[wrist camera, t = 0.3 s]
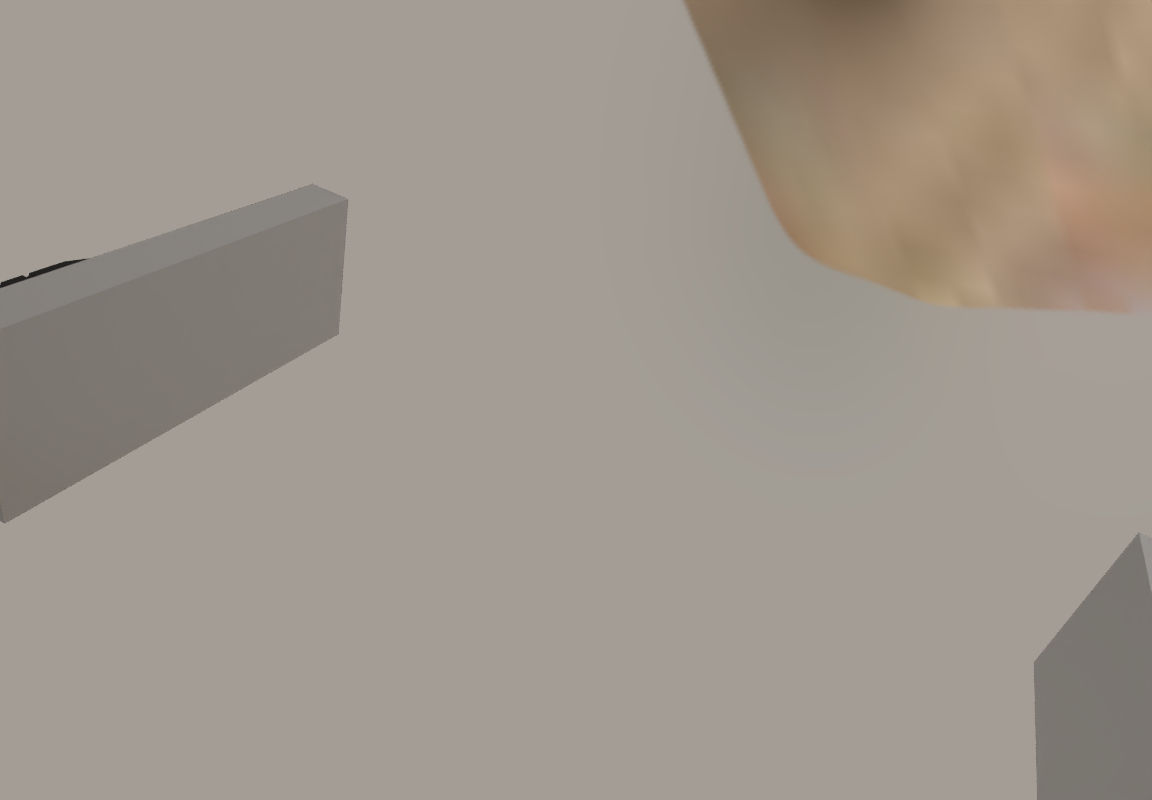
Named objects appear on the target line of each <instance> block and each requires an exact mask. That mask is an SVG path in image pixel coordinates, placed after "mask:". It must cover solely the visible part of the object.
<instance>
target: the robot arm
mask: <svg viewBox="0 0 1152 800" xmlns="http://www.w3.org/2000/svg"><path fill="white" fill-rule="evenodd" d="M347 208H348V199H347V198H344V197H342V196H340V195H337V194H335V193H333V192H330V191H328V190H326V189H323V188H321V187H318V186H316V185H313V184H311V185H309V186H305V187H302V188H299V189H297V190H294V191H290V192H287V193H284V194H281V195H279V196H276V197H273V198H269V199H267V200H264V201H260V202H258V203H255V204H251V205H249V206H246V207H242V208H239V209H237V210H234V211H230V212H227V213H224V214H221V215H219V216H216V217H213V218H210V219H207V220H204V221H201V222H198V223H195V224H192V225H189V226H186V227H183V228H180V229H177V230H174V231H171V232H168V233H165V234H162V235H159V236H156V237H153V238H150V239H147V240H144V241H141V242H138V243H135V244H132V245H129V246H126V247H123V248H120V249H117V250H114V251H111V252H108V253H105V254H102V255H99V256H96V257H93V258H89V259H81V260H73V261H65V262H62V263H59V264H56V265H53V266H50V267H46V268H43V269H40V270H37V271H34V272H31V273H29V276H28V277H25V276H23V275H22V276H19V277H16V278H13V279H10V280H7V281H4V282H1V285H0V521H2V522H3V523H6V522H8V521H10V520H12V519H13V518H15V517H17V516H19V515H21V514H22V513H24V512H26V511H28V510H29V509H31V508H33V507H35V506H36V505H38V504H40V503H42V502H44V501H45V500H47V499H49V498H51V497H52V496H54V495H56V494H58V493H59V492H61V491H63V490H65V489H66V488H68V487H70V486H72V485H73V484H75V483H77V482H79V481H80V480H82V479H84V478H86V477H87V476H89V475H91V474H93V473H95V472H96V471H98V470H100V469H102V468H103V467H105V466H107V465H109V464H110V463H112V462H114V461H115V460H118V459H119V458H121V457H123V456H125V455H126V454H128V453H130V452H132V451H133V450H135V449H137V448H139V447H140V446H142V445H144V444H146V443H147V442H149V441H151V440H152V439H155V438H156V437H158V436H160V435H161V434H163V433H165V432H167V431H169V430H170V429H172V428H174V427H176V426H177V425H179V424H181V423H183V422H184V421H186V420H188V419H190V418H191V417H193V416H195V415H197V414H198V413H200V412H202V411H204V410H206V409H207V408H209V407H211V406H213V405H214V404H216V403H218V402H220V401H221V400H223V399H225V398H227V397H229V396H230V395H232V394H234V393H236V392H237V391H239V390H241V389H243V388H244V387H246V386H248V385H250V384H251V383H253V382H255V381H256V380H258V379H260V378H262V377H264V376H265V375H267V374H269V373H271V372H273V371H274V370H276V369H278V368H279V367H281V366H283V365H285V364H286V363H288V362H290V361H292V360H294V359H295V358H297V357H299V356H301V355H302V354H304V353H306V352H308V351H310V350H311V349H313V348H315V347H317V346H318V345H320V344H322V343H324V342H325V341H327V340H329V339H331V338H332V337H334V336H336V335H338V334H339V321H340V320H339V319H340V306H341V293H342V278H343V264H344V250H345V235H346V222H347ZM1034 683H1035V685H1034V686H1035V726H1036V767H1037V800H1152V538H1151V537H1149V536H1146V535H1144V534H1142V533H1138V534H1137V535H1136V537H1135V538H1134V539H1133V541H1132V542H1131V543H1130V544H1129V546H1128V547H1127V548H1126V549H1125V550H1124V552H1123V553H1122V554H1121V555H1120V556H1119V558H1118V559H1117V560H1116V561H1115V563H1114V564H1113V565H1112V566H1111V568H1110V569H1109V570H1108V571H1107V573H1106V574H1105V575H1104V576H1103V577H1102V579H1101V580H1100V581H1099V582H1098V584H1097V585H1096V586H1095V587H1094V589H1093V590H1092V591H1091V593H1090V594H1089V595H1088V596H1087V597H1086V599H1085V600H1084V601H1083V602H1082V604H1081V605H1080V606H1079V607H1078V608H1077V610H1076V611H1075V612H1074V613H1073V615H1072V616H1071V617H1070V618H1069V620H1068V621H1067V622H1066V624H1064V626H1063V627H1062V628H1061V629H1060V631H1059V632H1058V633H1057V634H1056V636H1055V637H1054V638H1053V639H1052V641H1051V642H1050V643H1049V644H1048V645H1047V647H1046V648H1045V649H1044V651H1043V652H1042V653H1041V654H1040V655H1039V657H1038V658H1037V659H1036V660H1035V662H1034Z"/></svg>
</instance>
